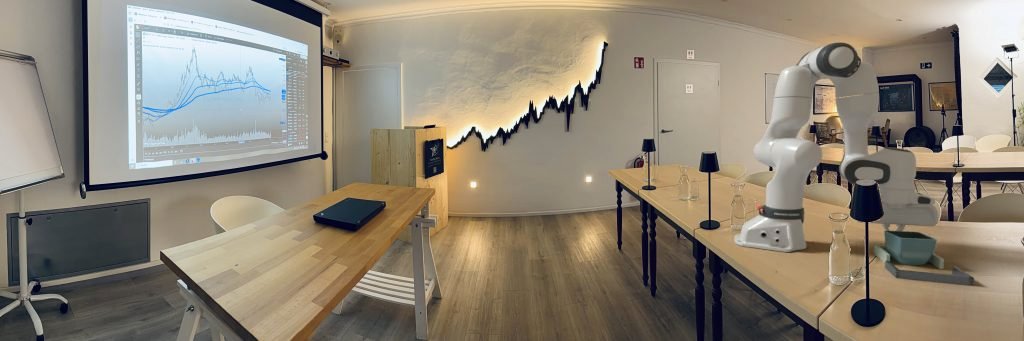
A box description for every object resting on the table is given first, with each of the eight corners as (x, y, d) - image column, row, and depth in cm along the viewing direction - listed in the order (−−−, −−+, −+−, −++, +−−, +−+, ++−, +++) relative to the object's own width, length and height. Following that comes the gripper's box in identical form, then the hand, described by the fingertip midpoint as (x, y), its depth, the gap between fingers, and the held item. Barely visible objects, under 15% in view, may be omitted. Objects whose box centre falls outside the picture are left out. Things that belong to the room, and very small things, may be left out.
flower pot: (916, 258, 124) (918, 231, 123) (935, 269, 116) (938, 239, 115) (881, 257, 127) (883, 230, 126) (898, 266, 119) (899, 238, 118)
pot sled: (886, 264, 120) (887, 245, 120) (871, 251, 132) (872, 233, 131) (943, 269, 115) (944, 249, 114) (922, 255, 126) (924, 237, 125)
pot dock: (896, 278, 111) (896, 270, 110) (884, 268, 118) (885, 260, 118) (972, 286, 104) (973, 277, 103) (955, 275, 111) (956, 266, 111)
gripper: (857, 197, 132) (855, 236, 134) (942, 199, 123) (938, 242, 124) (852, 193, 138) (850, 231, 139) (932, 195, 128) (929, 236, 130)
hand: (892, 236), depth 132 cm, fingers closed
